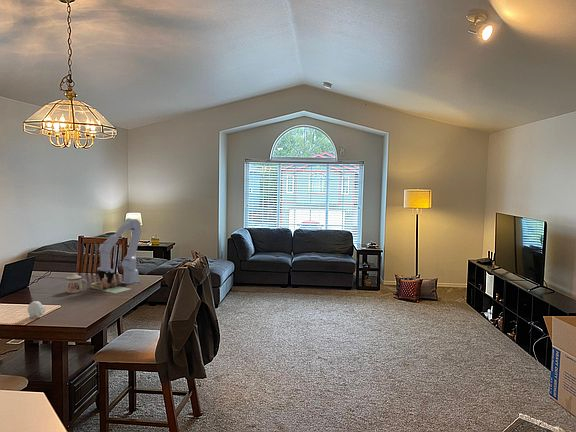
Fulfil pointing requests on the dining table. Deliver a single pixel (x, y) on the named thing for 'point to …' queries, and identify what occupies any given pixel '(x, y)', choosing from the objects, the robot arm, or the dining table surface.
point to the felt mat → (116, 289)
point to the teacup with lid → (74, 283)
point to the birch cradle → (98, 286)
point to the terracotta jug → (105, 283)
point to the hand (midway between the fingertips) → (105, 282)
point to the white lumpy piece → (35, 309)
